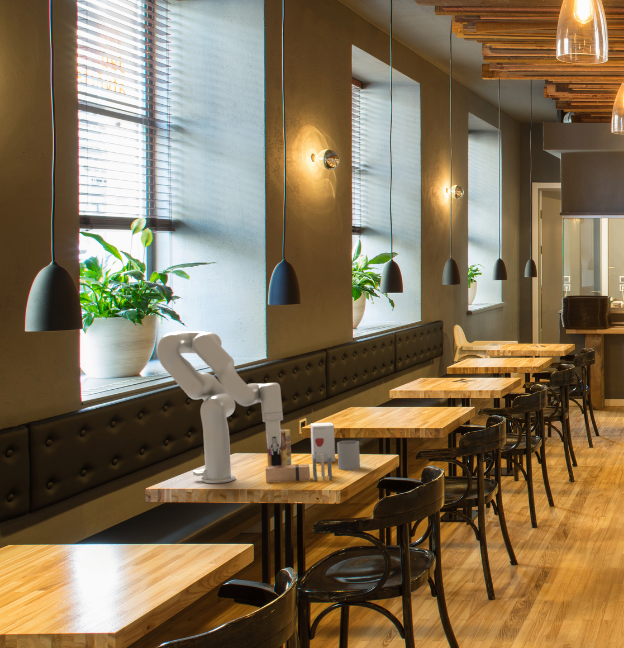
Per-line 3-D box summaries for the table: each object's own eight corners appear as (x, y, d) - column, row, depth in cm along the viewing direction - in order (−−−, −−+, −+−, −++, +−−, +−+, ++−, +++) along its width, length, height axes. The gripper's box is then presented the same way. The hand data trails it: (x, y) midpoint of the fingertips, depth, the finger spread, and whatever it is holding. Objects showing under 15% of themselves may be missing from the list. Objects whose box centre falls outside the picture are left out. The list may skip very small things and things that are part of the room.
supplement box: (313, 463, 326) (312, 426, 326) (311, 458, 335) (309, 423, 335) (335, 461, 327) (334, 424, 327) (333, 457, 336) (331, 421, 336)
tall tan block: (266, 482, 294) (265, 468, 294) (266, 479, 299) (265, 466, 299) (310, 480, 294) (309, 466, 294) (309, 477, 299) (308, 463, 299)
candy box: (292, 467, 318) (290, 429, 318) (287, 470, 314) (285, 431, 314) (272, 466, 322) (271, 428, 322) (267, 468, 319) (265, 430, 318)
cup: (351, 471, 308) (350, 444, 307) (334, 469, 313) (333, 443, 312) (364, 466, 314) (362, 441, 314) (346, 465, 319) (345, 439, 319)
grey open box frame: (314, 481, 293) (313, 458, 293) (313, 476, 301) (312, 454, 301) (332, 480, 293) (331, 457, 293) (330, 475, 301) (329, 453, 301)
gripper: (262, 414, 304) (266, 459, 304) (261, 420, 287) (266, 468, 287) (282, 412, 304) (286, 457, 305) (282, 418, 287) (287, 466, 287)
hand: (276, 463), depth 296 cm, fingers open, 9 cm apart
